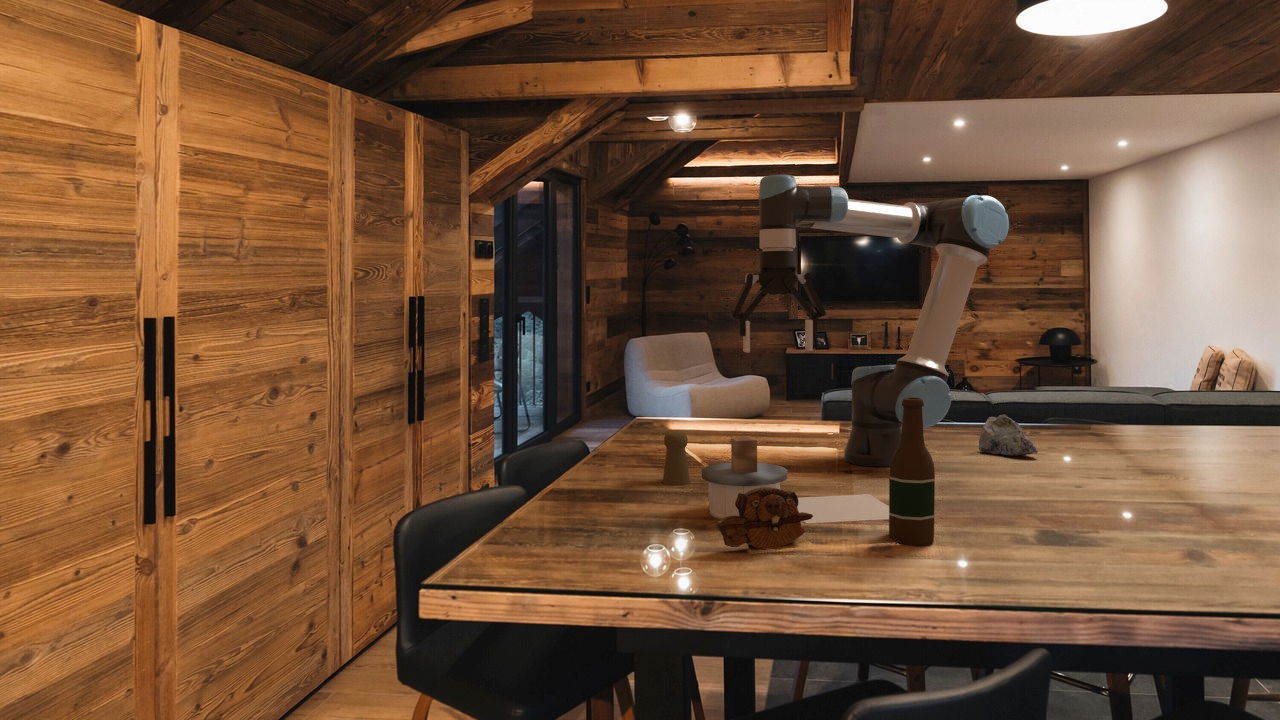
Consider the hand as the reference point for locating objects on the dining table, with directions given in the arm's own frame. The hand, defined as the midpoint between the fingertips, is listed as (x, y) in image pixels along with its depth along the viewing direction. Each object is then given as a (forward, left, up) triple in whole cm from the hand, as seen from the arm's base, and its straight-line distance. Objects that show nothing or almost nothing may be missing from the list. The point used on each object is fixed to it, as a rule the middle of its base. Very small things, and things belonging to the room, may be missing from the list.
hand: (777, 351), depth 195 cm
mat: (-5, +24, -29) cm, 38 cm away
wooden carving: (+15, +45, -29) cm, 56 cm away
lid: (+13, +22, -22) cm, 33 cm away
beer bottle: (-10, +45, -29) cm, 54 cm away
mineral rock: (-63, -20, -29) cm, 72 cm away
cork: (+21, -7, -29) cm, 36 cm away
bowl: (+13, +22, -29) cm, 38 cm away
